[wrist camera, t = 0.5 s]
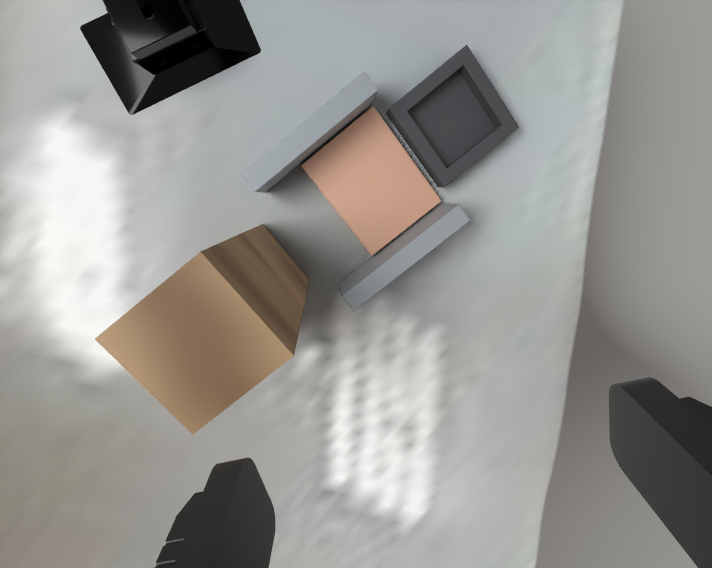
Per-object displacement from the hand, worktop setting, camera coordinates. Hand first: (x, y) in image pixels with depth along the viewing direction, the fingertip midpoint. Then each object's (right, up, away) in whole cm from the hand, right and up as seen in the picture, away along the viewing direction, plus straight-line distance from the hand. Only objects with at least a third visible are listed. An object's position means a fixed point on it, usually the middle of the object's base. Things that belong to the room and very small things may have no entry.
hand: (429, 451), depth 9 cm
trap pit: (+5, +15, +18) cm, 24 cm away
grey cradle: (-2, +10, +19) cm, 21 cm away
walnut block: (-8, +4, +19) cm, 22 cm away
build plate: (-13, +19, +17) cm, 28 cm away
